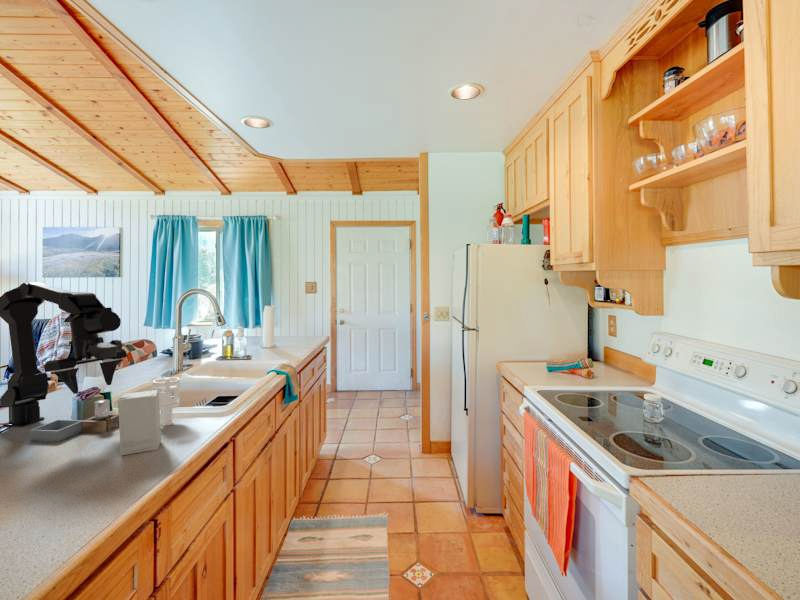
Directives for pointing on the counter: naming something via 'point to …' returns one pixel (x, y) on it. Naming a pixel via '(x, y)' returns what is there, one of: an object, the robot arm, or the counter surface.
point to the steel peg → (102, 410)
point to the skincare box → (139, 422)
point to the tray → (56, 430)
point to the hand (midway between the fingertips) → (93, 389)
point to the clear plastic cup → (167, 397)
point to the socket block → (100, 424)
